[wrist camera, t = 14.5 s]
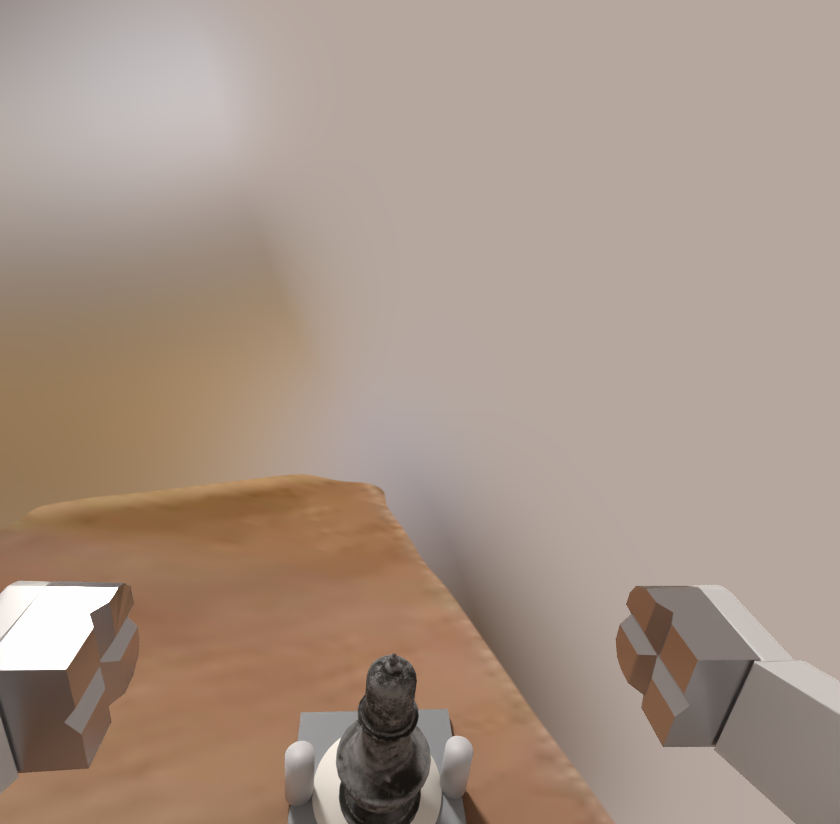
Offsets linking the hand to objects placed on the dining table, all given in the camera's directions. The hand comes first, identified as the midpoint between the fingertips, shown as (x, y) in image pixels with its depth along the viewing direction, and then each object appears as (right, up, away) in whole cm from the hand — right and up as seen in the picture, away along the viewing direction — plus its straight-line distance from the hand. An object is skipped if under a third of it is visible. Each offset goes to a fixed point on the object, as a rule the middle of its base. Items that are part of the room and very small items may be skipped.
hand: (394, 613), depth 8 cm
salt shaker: (-2, -21, +25) cm, 33 cm away
